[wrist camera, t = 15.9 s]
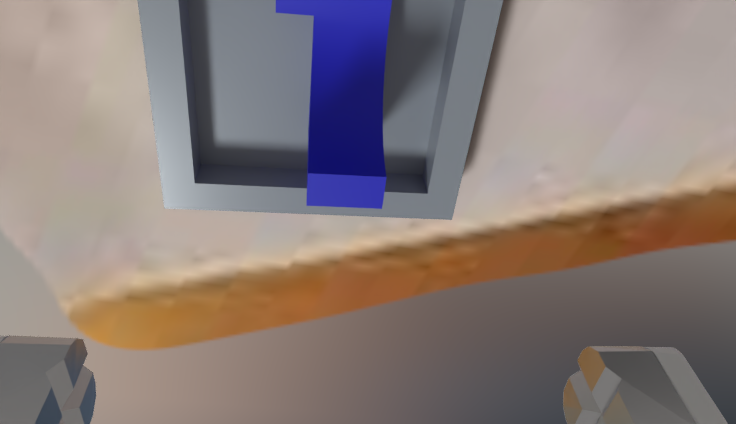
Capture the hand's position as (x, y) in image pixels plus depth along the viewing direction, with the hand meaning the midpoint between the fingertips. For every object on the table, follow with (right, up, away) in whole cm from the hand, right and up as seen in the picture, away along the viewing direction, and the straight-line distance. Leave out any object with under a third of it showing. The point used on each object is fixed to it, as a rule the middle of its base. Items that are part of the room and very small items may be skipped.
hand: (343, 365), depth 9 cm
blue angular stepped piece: (-1, +11, +14) cm, 18 cm away
